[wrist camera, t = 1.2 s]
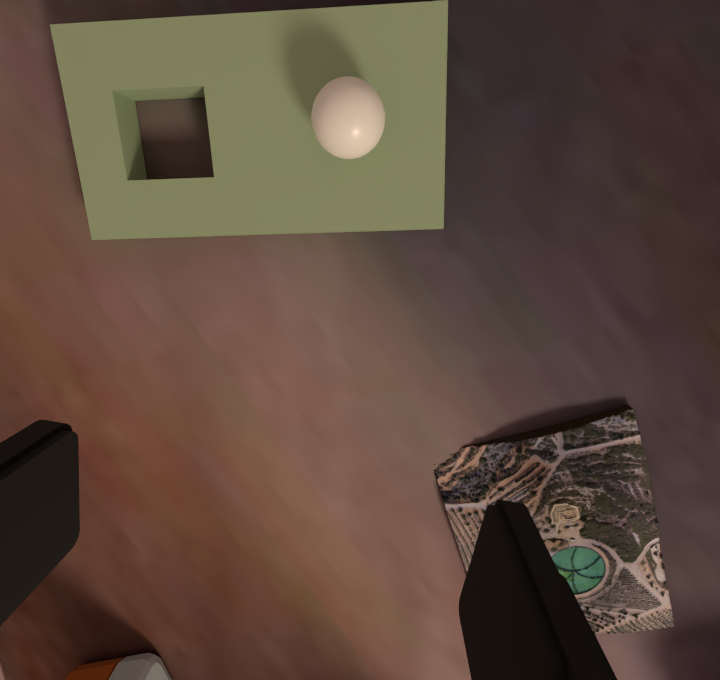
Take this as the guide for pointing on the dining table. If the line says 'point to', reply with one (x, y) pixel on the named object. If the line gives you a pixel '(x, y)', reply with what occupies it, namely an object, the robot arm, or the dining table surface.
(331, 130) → the ball
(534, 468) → the terrain model
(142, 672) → the orange and grey box
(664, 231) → the dining table surface
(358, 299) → the dining table surface
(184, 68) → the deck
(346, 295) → the dining table surface
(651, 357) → the dining table surface
